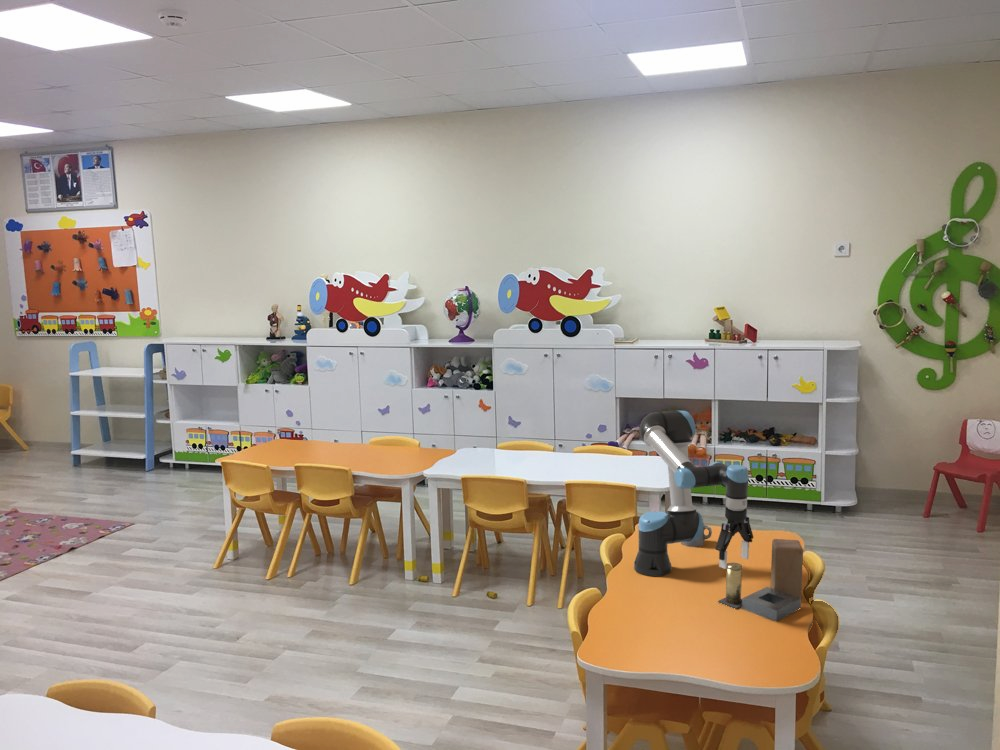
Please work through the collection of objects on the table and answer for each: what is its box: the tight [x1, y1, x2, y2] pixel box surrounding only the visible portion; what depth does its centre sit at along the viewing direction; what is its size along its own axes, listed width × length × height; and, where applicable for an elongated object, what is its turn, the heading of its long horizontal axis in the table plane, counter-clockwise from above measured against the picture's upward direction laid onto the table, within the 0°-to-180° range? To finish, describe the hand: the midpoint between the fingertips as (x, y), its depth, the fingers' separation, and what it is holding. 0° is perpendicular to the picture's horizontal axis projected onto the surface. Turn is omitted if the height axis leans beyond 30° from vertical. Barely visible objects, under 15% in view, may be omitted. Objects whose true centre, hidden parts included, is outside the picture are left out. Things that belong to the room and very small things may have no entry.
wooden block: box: [770, 538, 804, 599], centre depth 308 cm, size 10×10×20 cm
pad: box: [717, 597, 742, 610], centre depth 302 cm, size 8×8×1 cm
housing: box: [741, 586, 802, 623], centre depth 296 cm, size 14×16×4 cm
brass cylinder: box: [725, 562, 743, 604], centre depth 301 cm, size 5×5×14 cm
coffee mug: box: [680, 521, 713, 548], centre depth 364 cm, size 13×10×10 cm
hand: (733, 562), depth 300 cm, fingers open, 13 cm apart
